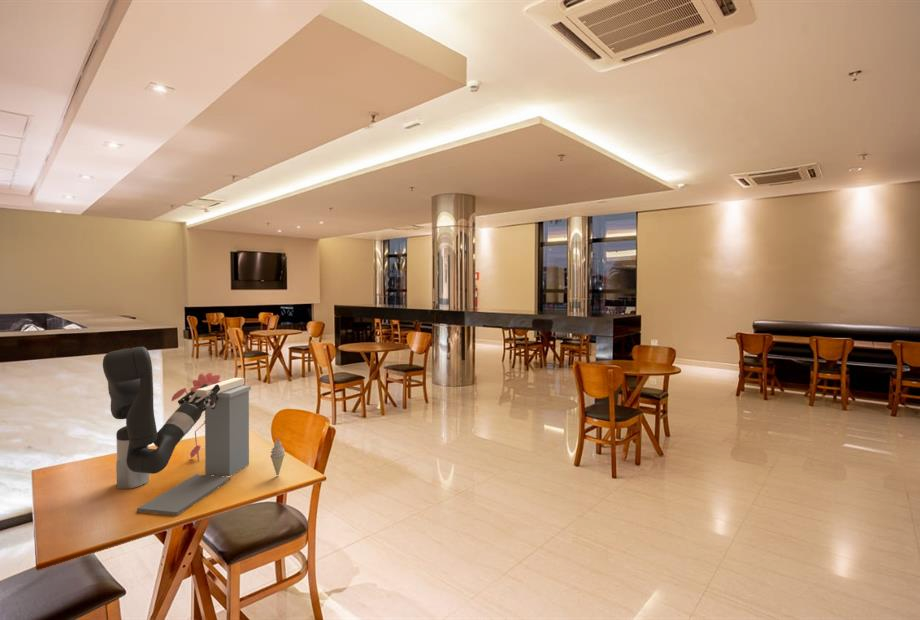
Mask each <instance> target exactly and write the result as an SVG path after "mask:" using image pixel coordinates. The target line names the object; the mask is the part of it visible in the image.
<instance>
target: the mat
mask: <svg viewBox="0 0 920 620" xmlns="http://www.w3.org/2000/svg"><path fill="white" fill-rule="evenodd" d="M229 480H230V481H231V477H222V476H211V475H205V474H198V473H195V474H194V475H192V476H191V477H189V478H187V479H185V480H184V481H182V482H180V483H178V484H176V485H175V486H173V487H171V488H169V489H168V490H166V491H164V492H162V493H161V494H159V495H157V496H155V497H154V498H152V499H151V500H149V501H147V502H145V503H144V504H142V505H140V506H138V507H137V508H136V512H137V513H143V512H146V513H145V514H153V513H156V514H155V515H163V514H164V515H165V516H173V515H176V516H175V517H178V516H179V515H181V514H182V513H184V512H185V511H186V509H187V508H188V509H190V508H191V507H193V506H194V505H196V504H197V503H199V502H200V501H202V500H203V499H205V498H206V497H208V496H209V495H211V494H212V493H214V492H215V491H217V490H218V489H219V488H218V487H220V486H221V485H223V484H224V483H226V482H227V481H229ZM230 481H229V482H230ZM227 483H228V482H227ZM227 483H226V484H227ZM224 485H225V484H224ZM224 485H223V486H224ZM221 487H222V486H221ZM221 487H220V488H221ZM217 488H218V489H217ZM216 489H217V490H216ZM214 490H215V491H214ZM213 491H214V492H213ZM211 492H212V493H211ZM210 493H211V494H210ZM208 494H209V495H208ZM207 495H208V496H207ZM205 496H206V497H205ZM204 497H205V498H204ZM202 498H203V499H202ZM201 499H202V500H201ZM199 500H200V501H199ZM198 501H199V502H198ZM196 502H197V503H196ZM195 503H196V504H195ZM193 504H194V505H193ZM192 505H193V506H192ZM190 506H191V507H190ZM189 507H190V508H189ZM188 509H187V510H188ZM183 511H184V512H183ZM180 513H181V514H180ZM177 515H178V516H177Z"/></svg>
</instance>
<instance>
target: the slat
mask: <svg viewBox="0 0 920 620" xmlns="http://www.w3.org/2000/svg"><path fill="white" fill-rule="evenodd" d="M215 385H219V387H220V390H219V392H218V393H221V392H223V391H226V390H229V389H232V388H235V387H238V386H241V385H243V386H245V378H244V377H233V378H230V379H226V380H223V381H221V382H219V383H216V384H213V385H210V386H207V387H204V388H200V389H197V390H196V394H197V397H202V396H204V395H207V394H208V393H209V392H210V391H211V390H212V389H213V387H214V386H215ZM218 393H217V394H218ZM210 396H211V395H210Z"/></svg>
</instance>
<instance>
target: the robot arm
mask: <svg viewBox="0 0 920 620" xmlns="http://www.w3.org/2000/svg"><path fill="white" fill-rule="evenodd" d="M102 370H103V373H104V376H105V378H106V381H107V389H108V390H107V391H108V395H109V397H110V413H111V415H112V417H113V418H114V419H116V420H125V424H126V425H125V426H123V427H120V428H119V429H118V430H117V431H116V435H115V436H116V464H115V466H116V467H115V468H116V489H117V490H120V489H124V490H125V489H133V488H137V487H141V486H143V484H144V485H145V484H147V483H148V482H149V480H150V475H153V474H158V473H160V472H162V471H163V470H164V469H165V468H166V467H167V465H168V464H169V462H170V460H171V457H172V455H173V453H174V450H175V449H176V446H177V445H178V443H180V442H181V440H182V439H183V438H184V437H185V436H186V435H187V434H188V433H189V431H191V430H192V428H193V427H194V426H195V425H196V423H197V422H198V421H199V420H200V419H201V417H202V414H203V412H205V410H206V409H207V408H212V409H215V407H216V405H217V402H218V399H219V397H218V395H217V393H218V392H219V390H220V387H219V385H215V386H214V387H213V389H212V390H211V391H210V392H209V393H208V394H207V395H204V396H202V397H197V394H196V392H193V391H189V392H188V394H186V395H184V396H182V397H180V399H178V400H177V403H178V405H179V406H178V407H177V409H176V410H175V411H174V412H173V413H172V414H171V416H169V418H168V419H167V420H166V422H165V423H164V424H163V425H162V426H161V428H159V430H157V429H158V428H157V425H156V424H157V423H156V418H155V411H154V410H155V409H154V379H153V377H154V376H153V375H154V374H153V364H152V358H151V355H150V352H149V350H148V349H147V348H146V347H145V346H136V347H131V348H130V347H129V348H124V349H118V350H113V351H109V352H108V353H105V355H104V356H103V360H102ZM207 386H208V385H207V384H204V385H203V386H201V388H204V387H207ZM210 395H211V397H210V398H209V396H210ZM189 396H190V398H189ZM205 399H206V400H205ZM152 444H153V445H154V446H155V447H156V448H149V446H150V445H152Z"/></svg>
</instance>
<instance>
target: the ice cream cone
mask: <svg viewBox="0 0 920 620" xmlns="http://www.w3.org/2000/svg"><path fill="white" fill-rule="evenodd" d="M285 452H286V451H285V448H284V446H282V442H281V441H280V439H279V437H277V438H276V440H275V442H274V444H273V448H271V451H270V453H271V454H270V458H271V462H272V465H273V468H274V471H275V474H276V476H277V475H278V476H279V475H280V472H281V468H282V465H283V461H284V457H285V455H286V454H285Z"/></svg>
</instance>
